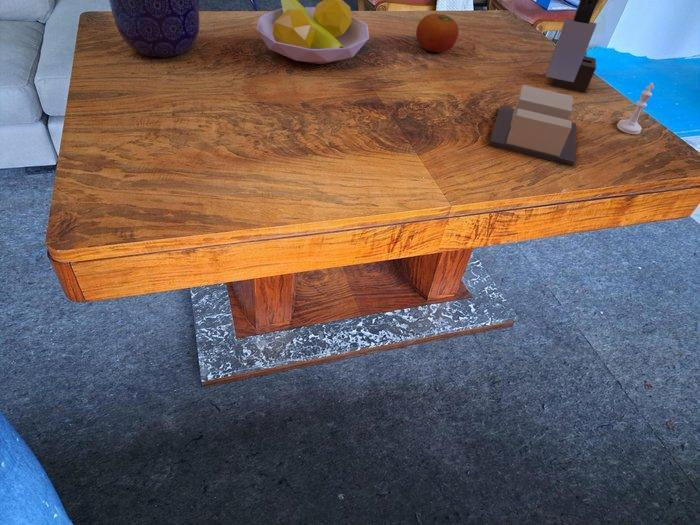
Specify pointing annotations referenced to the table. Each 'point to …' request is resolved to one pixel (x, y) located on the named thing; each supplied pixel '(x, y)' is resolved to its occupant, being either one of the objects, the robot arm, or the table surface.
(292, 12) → the fruit bowl
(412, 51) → the table surface
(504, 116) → the cake board
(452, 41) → the fruit
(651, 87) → the chess piece
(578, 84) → the knife block
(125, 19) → the planter
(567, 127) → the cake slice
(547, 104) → the cake
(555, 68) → the knife
